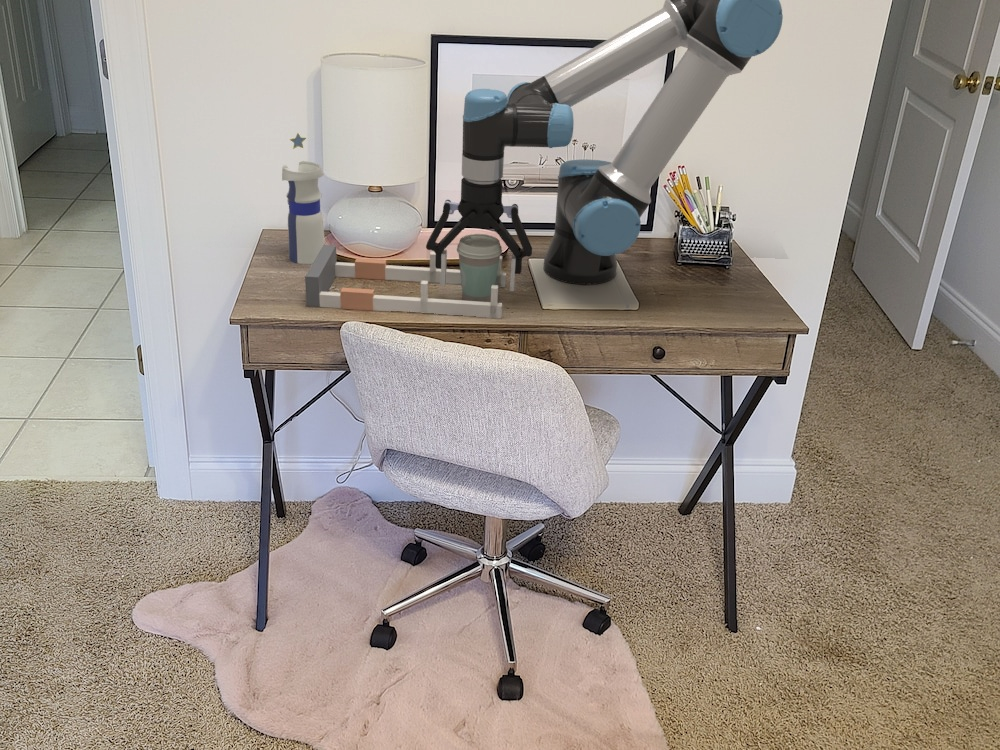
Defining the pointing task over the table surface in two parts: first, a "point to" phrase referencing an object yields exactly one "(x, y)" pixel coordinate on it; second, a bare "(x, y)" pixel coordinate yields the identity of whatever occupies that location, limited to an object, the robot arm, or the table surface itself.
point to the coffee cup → (478, 265)
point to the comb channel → (365, 299)
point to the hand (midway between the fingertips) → (477, 286)
